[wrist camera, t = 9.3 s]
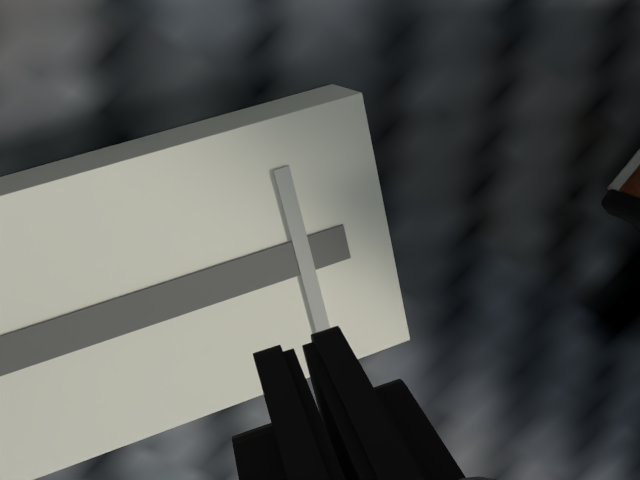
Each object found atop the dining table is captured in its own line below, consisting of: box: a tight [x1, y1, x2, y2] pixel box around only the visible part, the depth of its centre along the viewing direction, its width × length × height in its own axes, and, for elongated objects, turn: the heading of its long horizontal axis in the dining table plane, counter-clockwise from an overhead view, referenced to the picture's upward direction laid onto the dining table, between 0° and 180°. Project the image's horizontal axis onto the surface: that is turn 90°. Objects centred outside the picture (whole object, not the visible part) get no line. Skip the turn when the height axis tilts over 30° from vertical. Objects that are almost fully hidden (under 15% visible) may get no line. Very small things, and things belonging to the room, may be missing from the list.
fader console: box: [0, 84, 410, 480], centre depth 20 cm, size 9×22×3 cm, turn 103°
